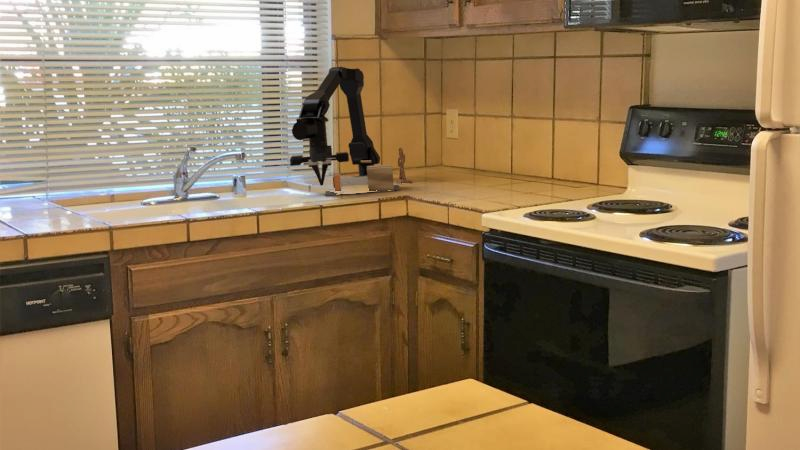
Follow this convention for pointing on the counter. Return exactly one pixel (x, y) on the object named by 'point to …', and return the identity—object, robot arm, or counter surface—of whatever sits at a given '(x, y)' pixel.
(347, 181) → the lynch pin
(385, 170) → the hitch block
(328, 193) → the mat
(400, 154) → the brown figurine
